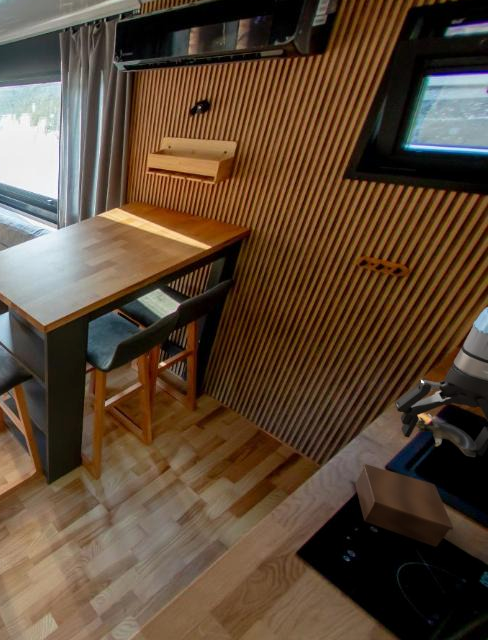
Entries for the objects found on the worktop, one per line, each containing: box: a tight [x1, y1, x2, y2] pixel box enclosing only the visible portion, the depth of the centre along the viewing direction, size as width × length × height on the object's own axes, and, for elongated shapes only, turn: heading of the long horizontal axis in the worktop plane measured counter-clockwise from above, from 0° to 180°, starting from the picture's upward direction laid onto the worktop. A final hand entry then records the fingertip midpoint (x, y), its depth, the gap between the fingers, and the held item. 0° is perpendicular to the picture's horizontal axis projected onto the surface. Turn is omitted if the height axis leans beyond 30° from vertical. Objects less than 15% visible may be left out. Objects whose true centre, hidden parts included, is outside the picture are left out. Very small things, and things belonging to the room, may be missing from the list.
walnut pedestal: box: [355, 463, 454, 548], centre depth 86 cm, size 11×11×8 cm
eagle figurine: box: [415, 413, 477, 458], centre depth 86 cm, size 8×7×9 cm
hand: (439, 441), depth 87 cm, fingers closed on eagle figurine, 10 cm apart
